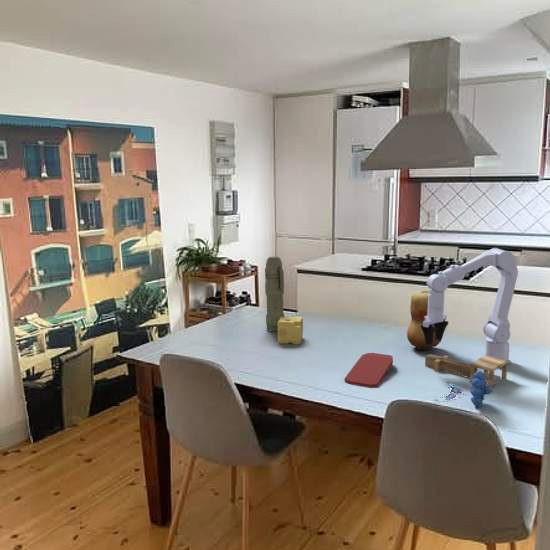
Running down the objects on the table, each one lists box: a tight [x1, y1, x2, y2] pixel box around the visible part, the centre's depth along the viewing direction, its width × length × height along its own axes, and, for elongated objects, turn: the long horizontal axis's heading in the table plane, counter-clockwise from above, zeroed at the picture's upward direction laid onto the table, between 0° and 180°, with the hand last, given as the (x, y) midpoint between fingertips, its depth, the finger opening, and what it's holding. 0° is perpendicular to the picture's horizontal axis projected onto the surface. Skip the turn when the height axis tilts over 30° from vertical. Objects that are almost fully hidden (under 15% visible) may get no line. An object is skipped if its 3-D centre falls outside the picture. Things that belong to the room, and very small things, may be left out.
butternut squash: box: [406, 289, 442, 351], centre depth 222 cm, size 14×13×25 cm
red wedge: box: [344, 352, 394, 388], centre depth 199 cm, size 12×5×25 cm
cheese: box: [277, 316, 304, 345], centre depth 240 cm, size 10×11×10 cm
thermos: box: [264, 256, 286, 332], centre depth 256 cm, size 9×12×35 cm
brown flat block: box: [483, 371, 502, 386], centre depth 189 cm, size 6×6×2 cm
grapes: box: [469, 370, 494, 408], centre depth 167 cm, size 12×7×12 cm, turn 150°
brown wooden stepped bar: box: [424, 353, 478, 378], centre depth 199 cm, size 8×19×4 cm, turn 44°
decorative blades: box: [435, 382, 465, 401], centre depth 179 cm, size 20×1×10 cm
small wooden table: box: [469, 355, 509, 389], centre depth 189 cm, size 12×8×7 cm, turn 134°
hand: (433, 341), depth 202 cm, fingers open, 7 cm apart
